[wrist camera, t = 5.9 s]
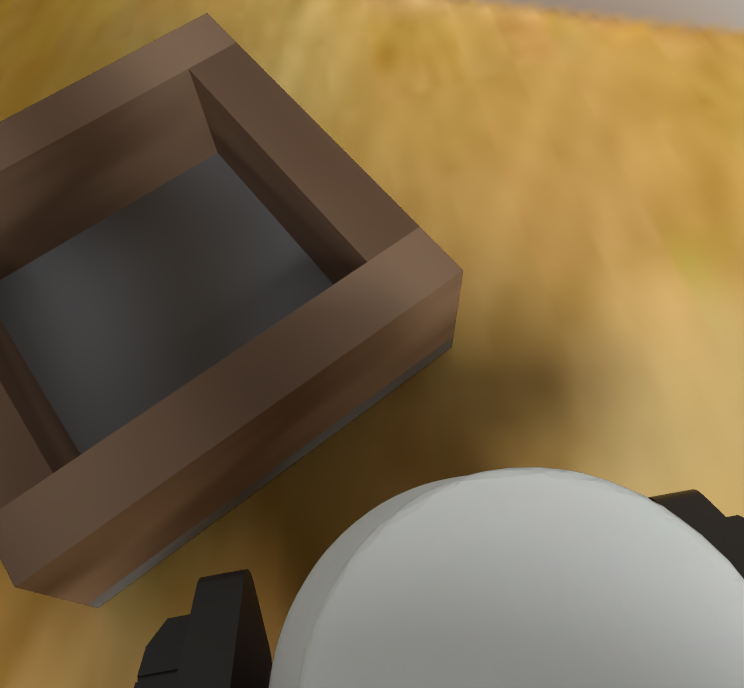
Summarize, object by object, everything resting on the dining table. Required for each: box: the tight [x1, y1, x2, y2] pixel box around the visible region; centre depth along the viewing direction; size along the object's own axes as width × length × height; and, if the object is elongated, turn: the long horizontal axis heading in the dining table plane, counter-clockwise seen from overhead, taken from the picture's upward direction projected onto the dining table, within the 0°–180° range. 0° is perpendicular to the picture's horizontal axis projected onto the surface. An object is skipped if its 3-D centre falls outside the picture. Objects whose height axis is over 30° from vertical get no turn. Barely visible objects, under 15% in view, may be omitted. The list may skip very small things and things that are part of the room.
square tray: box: [0, 13, 463, 608], centre depth 16 cm, size 10×10×4 cm
